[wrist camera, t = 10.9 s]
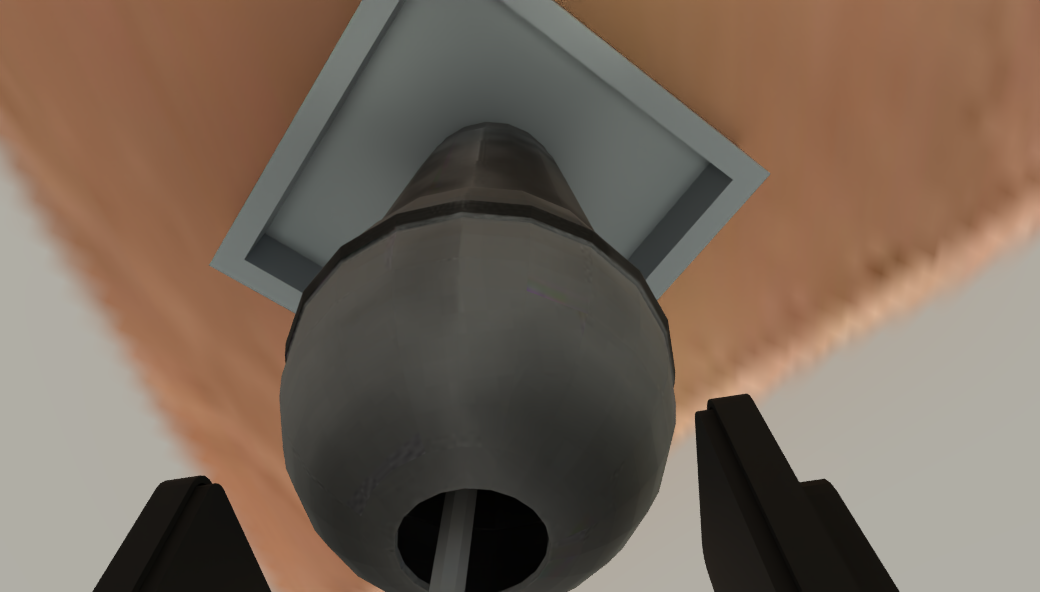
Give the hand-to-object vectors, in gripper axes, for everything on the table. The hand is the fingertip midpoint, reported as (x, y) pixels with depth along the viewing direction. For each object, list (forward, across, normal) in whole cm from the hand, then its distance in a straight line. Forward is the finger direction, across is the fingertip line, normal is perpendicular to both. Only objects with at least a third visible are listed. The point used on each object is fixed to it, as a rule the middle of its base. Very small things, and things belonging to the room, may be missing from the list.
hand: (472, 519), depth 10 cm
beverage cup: (+15, 0, 0) cm, 15 cm away
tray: (+16, 0, 0) cm, 16 cm away
